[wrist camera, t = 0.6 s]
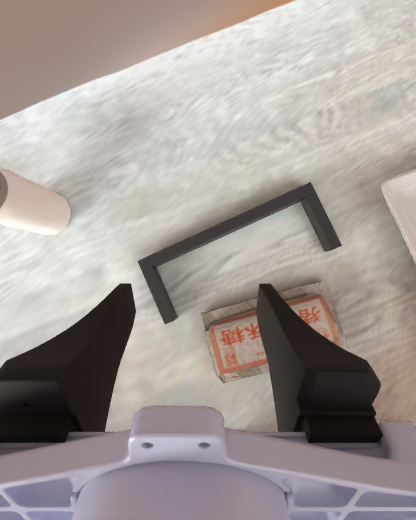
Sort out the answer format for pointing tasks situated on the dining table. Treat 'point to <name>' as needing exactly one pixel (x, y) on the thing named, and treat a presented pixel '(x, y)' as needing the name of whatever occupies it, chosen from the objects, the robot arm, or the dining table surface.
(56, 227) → the can
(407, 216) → the square plate
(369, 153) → the dining table surface
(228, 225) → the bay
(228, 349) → the packaged product
